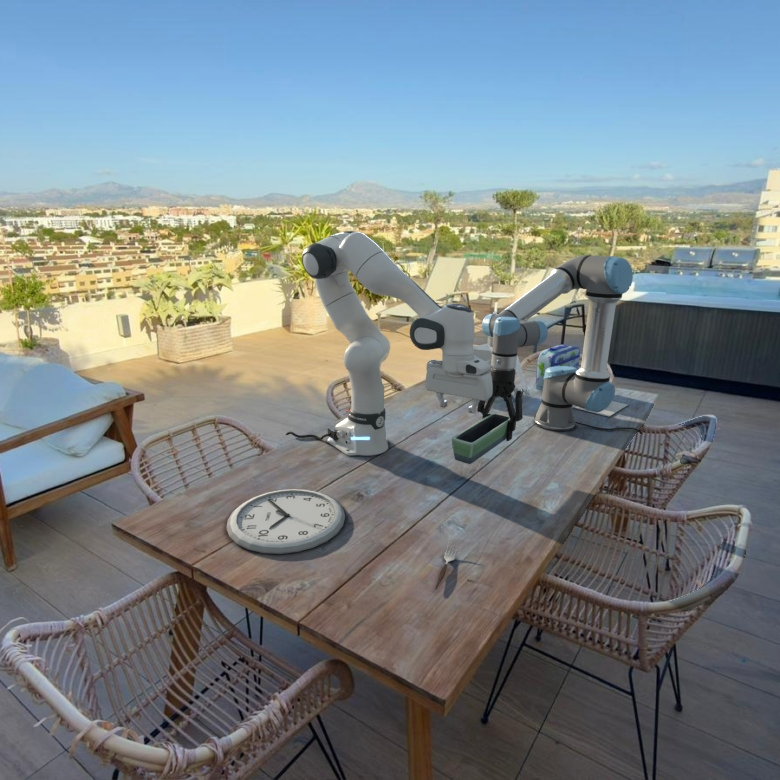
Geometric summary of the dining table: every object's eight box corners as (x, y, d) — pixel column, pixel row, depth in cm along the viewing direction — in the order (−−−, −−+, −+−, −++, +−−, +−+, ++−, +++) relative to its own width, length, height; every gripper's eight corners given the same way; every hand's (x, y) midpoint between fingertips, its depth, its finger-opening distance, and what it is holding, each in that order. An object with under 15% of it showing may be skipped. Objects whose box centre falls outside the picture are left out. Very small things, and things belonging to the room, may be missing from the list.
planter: (491, 432, 173) (493, 412, 171) (511, 438, 169) (514, 417, 166) (448, 460, 152) (450, 437, 149) (471, 467, 148) (472, 444, 145)
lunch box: (552, 397, 237) (557, 352, 231) (531, 392, 245) (535, 348, 238) (579, 386, 255) (584, 344, 249) (558, 381, 262) (563, 340, 256)
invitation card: (608, 416, 214) (573, 407, 224) (608, 416, 214) (573, 408, 224) (628, 404, 229) (594, 396, 238) (628, 405, 229) (594, 397, 238)
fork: (429, 589, 110) (429, 581, 109) (447, 548, 124) (448, 541, 124) (441, 592, 109) (441, 584, 108) (458, 550, 123) (459, 543, 123)
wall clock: (345, 545, 122) (213, 550, 119) (345, 551, 122) (214, 556, 120) (344, 484, 150) (238, 487, 148) (345, 490, 151) (239, 492, 148)
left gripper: (420, 360, 150) (421, 406, 154) (485, 369, 138) (484, 419, 142) (432, 356, 154) (432, 400, 158) (496, 365, 142) (494, 412, 146)
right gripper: (468, 364, 164) (464, 432, 171) (529, 376, 153) (522, 448, 159) (479, 360, 170) (475, 426, 177) (539, 370, 158) (531, 440, 165)
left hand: (457, 409), depth 150 cm, fingers open, 8 cm apart
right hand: (497, 436), depth 168 cm, fingers closed on planter, 7 cm apart
